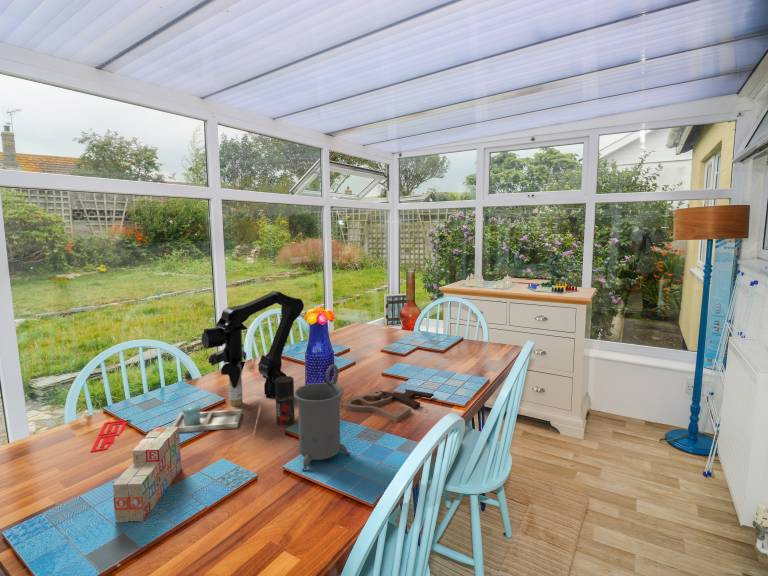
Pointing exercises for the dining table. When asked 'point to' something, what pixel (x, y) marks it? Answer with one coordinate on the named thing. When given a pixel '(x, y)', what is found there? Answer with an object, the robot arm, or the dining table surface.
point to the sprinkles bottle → (236, 393)
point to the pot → (191, 414)
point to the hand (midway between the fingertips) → (235, 385)
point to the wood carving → (383, 399)
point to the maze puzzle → (108, 440)
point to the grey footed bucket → (319, 419)
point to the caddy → (211, 421)
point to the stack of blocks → (147, 474)
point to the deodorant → (284, 400)
